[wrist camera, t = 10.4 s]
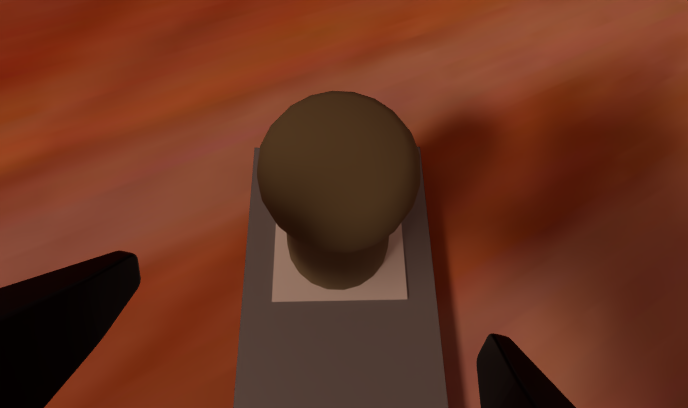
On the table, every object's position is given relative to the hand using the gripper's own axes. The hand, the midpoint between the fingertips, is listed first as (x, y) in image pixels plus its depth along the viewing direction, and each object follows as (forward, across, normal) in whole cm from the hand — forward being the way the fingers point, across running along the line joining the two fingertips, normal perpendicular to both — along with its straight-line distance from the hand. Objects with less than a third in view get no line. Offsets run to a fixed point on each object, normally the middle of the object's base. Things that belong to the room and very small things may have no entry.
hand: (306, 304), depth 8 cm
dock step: (+10, -1, +8) cm, 13 cm away
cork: (+10, 0, +5) cm, 11 cm away
